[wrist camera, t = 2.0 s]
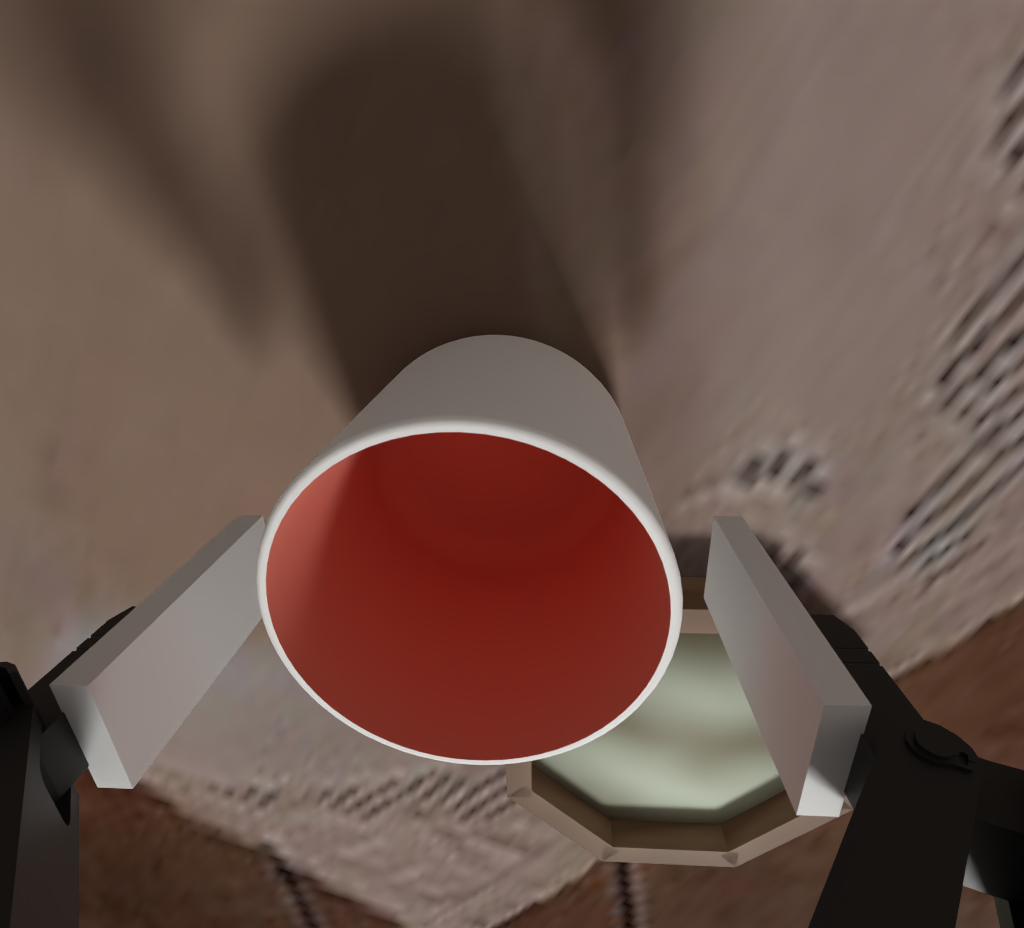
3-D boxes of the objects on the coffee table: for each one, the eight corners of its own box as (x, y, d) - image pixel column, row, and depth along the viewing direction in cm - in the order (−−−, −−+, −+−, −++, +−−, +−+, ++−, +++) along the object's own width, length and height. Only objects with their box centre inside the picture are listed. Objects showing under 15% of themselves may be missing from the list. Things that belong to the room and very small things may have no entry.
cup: (422, 283, 19) (309, 337, 10) (673, 391, 20) (775, 529, 11) (348, 508, 23) (219, 693, 14) (561, 589, 24) (569, 810, 15)
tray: (501, 574, 24) (497, 606, 22) (887, 578, 23) (919, 612, 21) (513, 815, 31) (510, 857, 29) (813, 827, 30) (832, 871, 28)
